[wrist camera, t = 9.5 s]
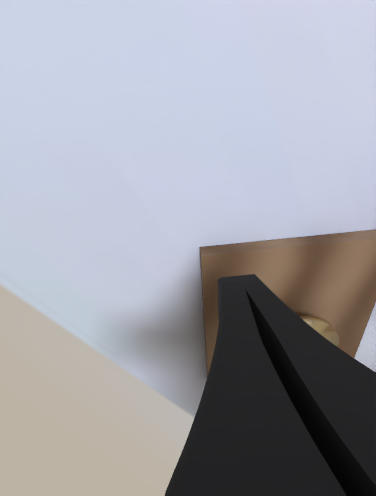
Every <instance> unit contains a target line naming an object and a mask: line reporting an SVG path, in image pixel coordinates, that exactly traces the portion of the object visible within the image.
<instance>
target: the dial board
mask: <svg viewBox="0 0 376 496" xmlns="http://www.w3.org/2000/svg"><path fill="white" fill-rule="evenodd" d="M200 260H201V277H202V294H203V312H204V329H205V346H206V364H207V377H208V374H209V370H210V366H211V362H212V358H213V353H214V349H215V344H216V338H217V332H218V325H219V319H218V282H217V280H218V279H219V278H220V277H229V276H239V275H249V274H255V275H256V276H257V277H258V278H259V279H260V280H261V281H262V282H263V283H264V284H265V285H266V286H267V287H268V288H269V289H270V290H271V291H272V292H273V293H274V294H275V295H276V296H277V297H278V298H279V299H281V300H282V301H283V302H284V303H285V304H286V305H287V306H288V307H289V308H290V309H291V310H293V311H294V312H295V313H296V314H297V315H298V316H316V317H320V318H323V319H325V320H327V321H328V322H329V323H330V324H331V325H332V326H333V328H334V329H335V331H336V332H337V334H338V338H339V342H338V346H337V347H338V348H340V349H341V350H343V351H344V352H345V353H347V354H348V355H350V356H351V357H353V358H354V357H355V355H356V352H357V349H358V347H359V344H360V341H361V339H362V336H363V334H364V331H365V328H366V326H367V323H368V320H369V318H370V315H371V313H372V310H373V307H374V305H375V302H376V230H367V231H357V232H347V233H337V234H327V235H317V236H307V237H297V238H287V239H277V240H267V241H256V242H246V243H236V244H226V245H216V246H206V247H200Z"/></svg>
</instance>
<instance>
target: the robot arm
mask: <svg viewBox="0 0 376 496" xmlns="http://www.w3.org/2000/svg"><path fill="white" fill-rule="evenodd" d="M217 282H218V319H219V325H218V332H217V338H216V344H215V349H214V353H213V358H212V362H211V366H210V370H209V374H208V377H207V381H206V384H205V388H204V391H203V395H202V398H201V401H200V404H199V407H198V410H197V413H196V416H195V418H194V422H193V424H192V427H191V430H190V433H189V436H188V438H187V441H186V443H185V446H184V449H183V451H182V454H181V456H180V458H179V461H178V463H177V466H176V468H175V470H174V473H173V475H172V478H171V480H170V483H169V485H168V487H167V490H166V493H165V496H376V372H374V371H372V370H371V369H369V368H368V367H366V366H365V365H363V364H362V363H360V362H358V361H357V360H355V359H354V358H353V357H351V356H350V355H348V354H347V353H345V352H344V351H343V350H341V349H340V348H338V347H337V346H335V345H334V344H333V343H331V342H330V341H329V340H327V339H326V338H325V337H323V336H322V335H321V334H320V333H318V332H317V331H316V330H315V329H314V328H312V327H311V326H310V325H309V324H307V323H306V322H305V321H304V320H303V319H302V318H300V317H299V316H298V315H297V314H296V313H295V312H294V311H293V310H291V309H290V308H289V307H288V306H287V305H286V304H285V303H284V302H283V301H282V300H281V299H279V298H278V297H277V296H276V295H275V294H274V293H273V292H272V291H271V290H270V289H269V288H268V287H267V286H266V285H265V284H264V283H263V282H262V281H261V280H260V279H259V278H258V277H257V276H256V275H255V274H249V275H239V276H229V277H220V278H219V279H218V280H217Z"/></svg>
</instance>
